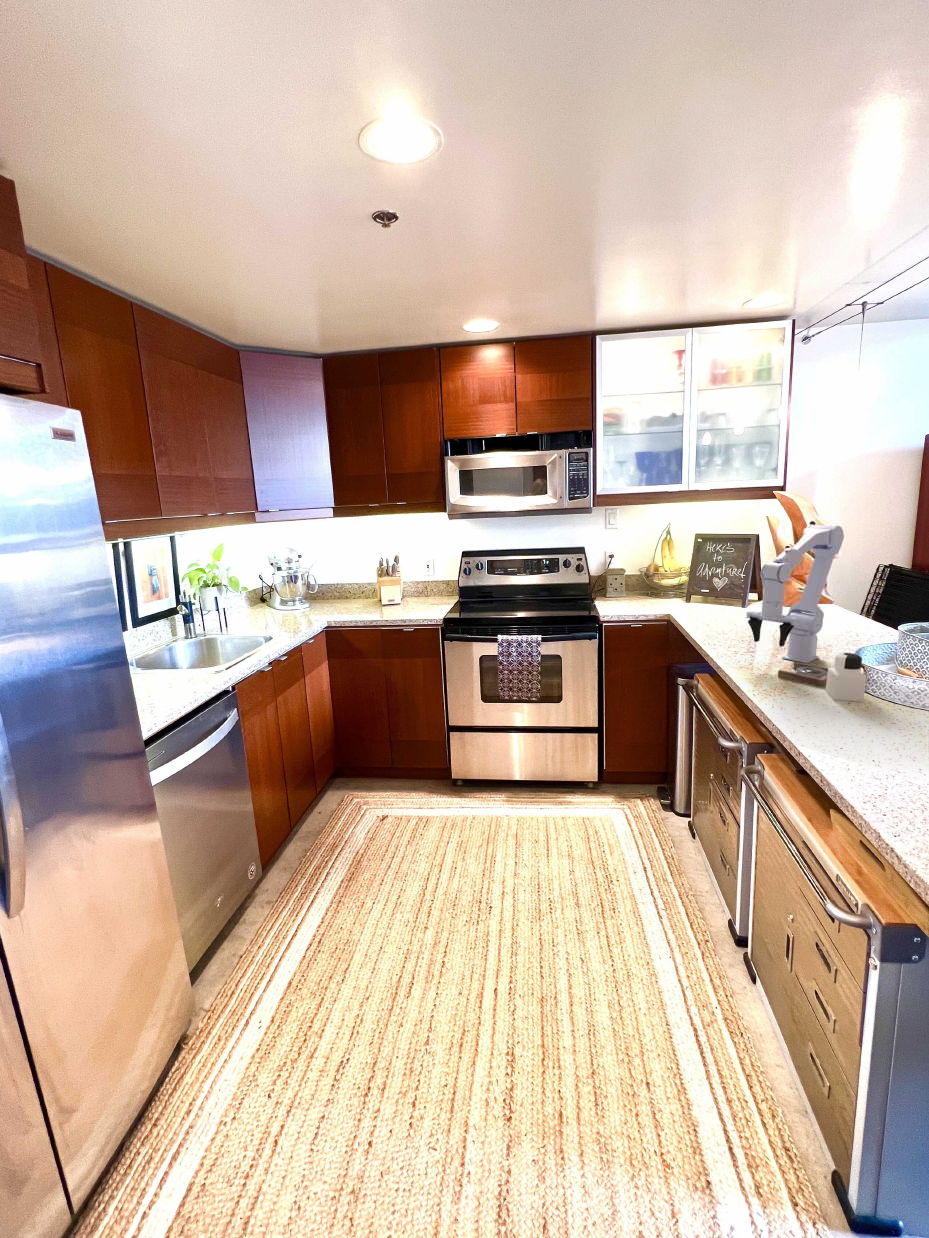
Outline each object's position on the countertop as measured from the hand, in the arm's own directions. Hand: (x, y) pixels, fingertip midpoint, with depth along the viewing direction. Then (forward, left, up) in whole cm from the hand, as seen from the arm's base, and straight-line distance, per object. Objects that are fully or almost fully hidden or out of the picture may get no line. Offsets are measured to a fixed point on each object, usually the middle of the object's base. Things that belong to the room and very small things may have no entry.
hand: (769, 643), depth 182 cm
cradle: (0, +12, -8) cm, 14 cm away
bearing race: (0, +13, -8) cm, 15 cm away
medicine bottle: (+10, +25, -8) cm, 28 cm away
